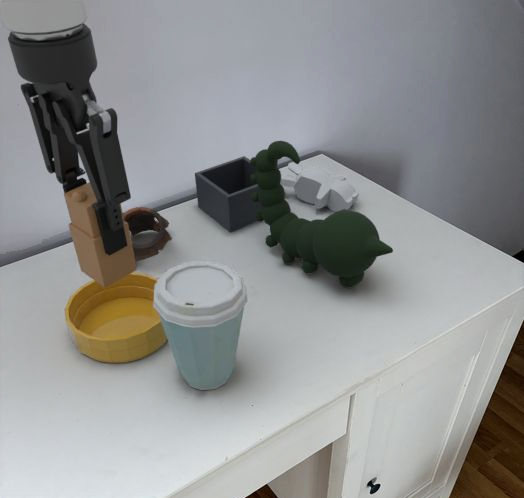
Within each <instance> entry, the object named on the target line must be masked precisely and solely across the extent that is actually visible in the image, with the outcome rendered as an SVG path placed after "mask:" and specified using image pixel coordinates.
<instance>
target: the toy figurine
mask: <svg viewBox="0 0 524 498" xmlns="http://www.w3.org/2000/svg"><path fill="white" fill-rule="evenodd" d="M283 158H287V159H289V160H291V162H295V163H296V164H299V165H300V163H301V158H300V155H299V154H298V151H297V149H296V148H295V147H294V146H293V144H291V143H289V141H288V142H287V141H285V140H276V141H273V142H271V143H270V144H269V145H268V147H267V148H266V149H261V150H260V151H258V152H257V153H256V155H255V156H253V157H251V158H250V164H251V165H252V166H255V167H256V169H257V171H256V174H252V175H251V177H250V181H251V182H252V183H255V184H256V183H257V185H258V186H259V189H258V193H257V192H255V193H253V194H252V196H251V199H252V201H254V202H258V201H259V202H260V204H261V205H262V207H261V210H260V211H257V212H256V213H255V217H254V218H255V219H256V221H257V222H259V223H262V222H264V224H266V225H267V226H269V233H270V234H269V235H267V236H266V237H265V245H266V246H267V247H269V248H275V247H277V246H278V245H280V247H281V250H282V251H283V253H282V256H281V259H282V261H283V263H284V264H287V265H291V264H293V263H294V262H295V261H296V259H299V260H301V263H300V268H301V270H302V271H303V273H305V274H308V275H311V274H314V273H315V272H317V271H318V270H319V266H320V267H321V268H322V269H323V270H324V271H325V272H326V273H329V274H330V275H332V276H335V277H338V281H339V284H340V285H341V287H343V288H346V289H351V288H353V287H355V286H357V285H358V284H360V283H361V282H362V281H363V279H364V277H365V274H366V273H365V272H366V271H368V269H370V268H371V267H372V265H373V264H374V263H375V261H376V260H377V257H381V256H385V255H388V254H393V253H394V248H392V247H391V246H390V245H388V244H387V243H385V242H384V241H382V240H381V239H380V233H379V231H378V229H377V227H376V225H375V223H373V221H372V220H371V219H370V218H369V217H368V216H366V215H365V214H363V213H361V212H358V211H355V210H341V211H337V212H334V213H331V214H329V215H328V216H327V217H326V218H324V219H319V218H318V219H317V218H315V219H311V220H309V219H307V218H303V217H299V216H298V215H297V214H295V213H294V212H293V211H292V210H291V207H290V204H289V202H288V201H287V200H286V191H285V187H284V186H282V185H281V184H280V182H281V174H282V173H281V170H280V169H279V167H278V162H279V160H281V159H283Z"/></svg>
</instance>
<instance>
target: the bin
mask: <svg viewBox="0 0 524 498" xmlns="http://www.w3.org/2000/svg"><path fill="white" fill-rule="evenodd" d="M250 160H251V158H248V157H247V156H245V155H244V156H240V157H238V158H235V159H232V160H228V161H226V162H223V163H220V164H217V165H214V166H212V167H208V168H205V169H202V170H200V171H197V172H195V173H194V179H195V180H194V181H195V187H196V188H195V189H196V198H197V199H196V200H197V206H198V207H197V208H199V209H200V210H201V211H202V212H204V213H205V214H206V215H207V216H208V217H210V218H211V219H213V220H214V221H215V222H217V224H219V225H220V226H222V227H223V228H224V229H225V230H227V231H228V232H229V233H233V232H235V231H238V230H240V229H242V228H245V227H247V226H250V225H252V224H255V223H257V222H258V221H256V219H255V218H254V217H255V213H256V212H257V211H260V210H261V207H262V205H261V204H260V202H259V201H258V202H254V201H252V199H251V196H252V194H253V193H255V192H257V193H258V189H259V186H258V185H257V183H256V184H255V183H252V182H251V181H250V177H251V175H252V174H256V171H257V169H256V167H255V166H252V165H251V164H250Z"/></svg>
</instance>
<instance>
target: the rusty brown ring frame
mask: <svg viewBox="0 0 524 498" xmlns="http://www.w3.org/2000/svg"><path fill="white" fill-rule="evenodd" d="M122 213H123V218H124V221H125V222H127V223H128V226H129V231H130V236H131V237H133V238H134V237H136V236H137V235H138V234H140V233H143V232H147V231H152V232H156V233H158V234H157V235H156V237H155V238H153V240H151V241H149V242H147V243H142V244H141V243H133V242H132V247H133V252H134V257H135V262H141V261H144V260H147V259H150V258H153V257H154V256H157V255H158V254H159V253H160V251H163V250H164V248H165V247H166V245H167V244H168V242H170V241H172V240H173V238H172V236H171V234H170V233H169V231H168V230H167V228H168V227H169V225H170V222H169V221H168V220H167V218H165V217H163V216H162V215H161V214H160V213H159V212H157V211H156V210H155V209H152V208H149V207H145V206H139V207H138V206H136V207H133V208H130V209H127V210H126V211H125V212H122ZM155 219H156V220H155Z"/></svg>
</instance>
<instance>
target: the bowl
mask: <svg viewBox="0 0 524 498" xmlns="http://www.w3.org/2000/svg"><path fill="white" fill-rule="evenodd" d="M158 279H159V278H156V277H154V276H152V275H149V274H147V273H140V272H135V271H134V272H132V273H130V274H129V275H127V276H125V277H123V278H122V279H120V280H118V281H116V282H115V283H113V284H111V285H109V286H108V287H106V288H104V287H103V286H102V285H100V284H99V283H97V282H96V281H95V280H93V279H92V280H90V281H88V282H87V283H85V284H83V285H82V286H80V287H79V288H77V290H76V291H75V292H73V293H72V295H70V297H69V299H68V301H67V303H66V305H65V307H64V317H65V323H66V326H67V328H68V332H69V334H70V337H71V340H72V343H73V344H74V345H75V347H76V348H77V349H78V350H79V352H80V353H82V354H83V355H86V356H88V358H91V359H93V360H95V361H98V362H102V363H110V364H123V363H129V362H134V361H138V360H141V359H143V358H145V357H148V356H150V355H151V354H153V353H155V352H156V351H158V350H159V349H160V348H161V347H163V345H165V343H167V341H168V339H167V336H166V333H165V330H164V328H163V325H162V322H161V319H160V317H159V314H158V311H157V310H156V309H155V308H154V307H153V304H154V286H155V284H156V283H157V282H158Z"/></svg>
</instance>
